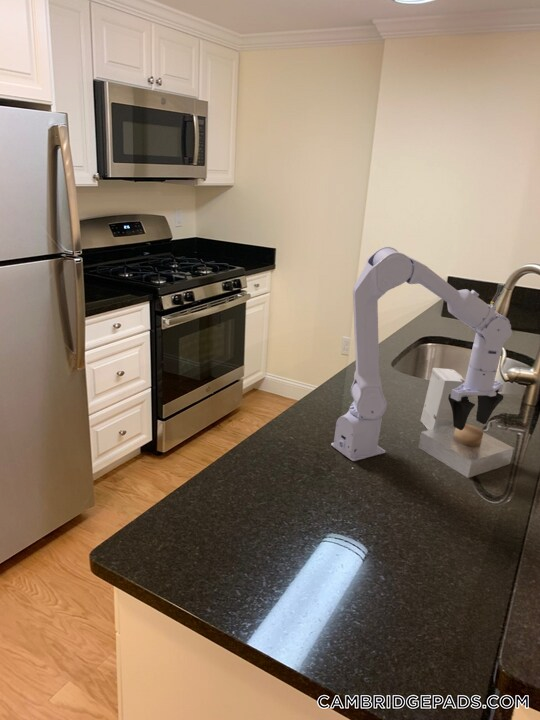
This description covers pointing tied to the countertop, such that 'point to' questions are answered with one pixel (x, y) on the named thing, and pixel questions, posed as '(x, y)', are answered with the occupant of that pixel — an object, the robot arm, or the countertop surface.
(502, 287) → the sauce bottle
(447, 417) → the skincare box
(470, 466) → the block
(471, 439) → the pin
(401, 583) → the countertop surface
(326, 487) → the countertop surface
